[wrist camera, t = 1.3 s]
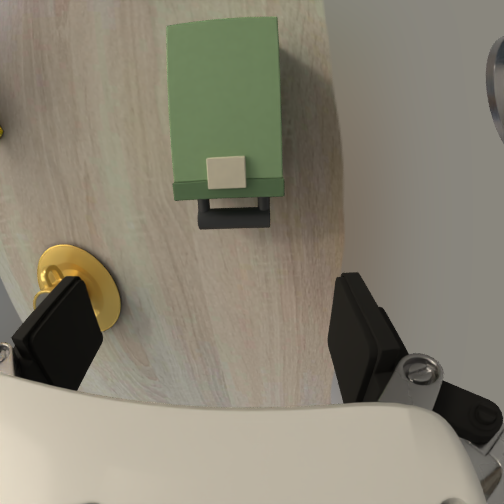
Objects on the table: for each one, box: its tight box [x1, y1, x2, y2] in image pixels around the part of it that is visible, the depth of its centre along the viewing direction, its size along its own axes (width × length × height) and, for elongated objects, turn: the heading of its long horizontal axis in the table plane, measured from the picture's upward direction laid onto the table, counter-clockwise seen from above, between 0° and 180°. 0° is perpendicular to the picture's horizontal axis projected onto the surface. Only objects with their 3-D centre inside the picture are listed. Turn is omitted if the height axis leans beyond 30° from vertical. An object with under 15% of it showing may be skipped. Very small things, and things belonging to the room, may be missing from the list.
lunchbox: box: [166, 17, 284, 229], centre depth 21 cm, size 7×8×15 cm
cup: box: [33, 245, 121, 332], centre depth 29 cm, size 12×12×5 cm
